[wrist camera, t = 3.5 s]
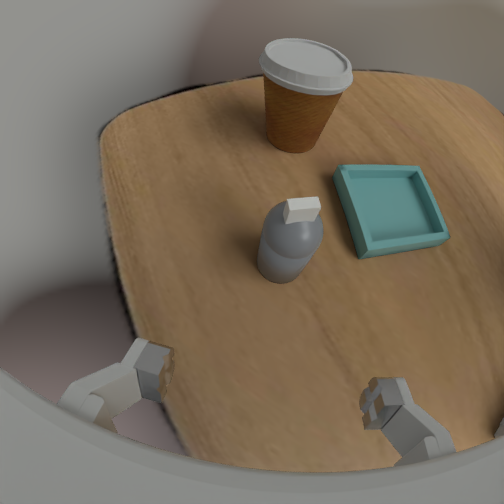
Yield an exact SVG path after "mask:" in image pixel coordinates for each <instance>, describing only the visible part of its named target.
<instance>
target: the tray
mask: <svg viewBox="0 0 504 504" xmlns="http://www.w3.org/2000/svg"><path fill="white" fill-rule="evenodd" d="M332 179H333V181H334V184H335V187H336V190H337V192H338V195H339V198H340V201H341V204H342V207H343V210H344V213H345V216H346V219H347V222H348V225H349V229H350V232H351V235H352V238H353V242H354V245H355V248H356V252H357V255H358V259H364V258H370V257H376V256H382V255H388V254H394V253H400V252H406V251H412V250H417V249H423V248H429V247H434V246H439V245H441V244H442V243H444V242H445V241H446V240H448V239H449V238H451V237H450V235H449V232H448V229H447V227H446V224H445V222H444V219H443V217H442V214H441V212H440V210H439V207H438V205H437V203H436V200H435V198H434V196H433V194H432V191H431V189H430V187H429V185H428V183H427V181H426V179H425V177H424V175H423V173H422V171H421V169H420V167H419V166H407V165H338V167H337V169H336V171H335V173H334V175H333V177H332Z"/></svg>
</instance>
